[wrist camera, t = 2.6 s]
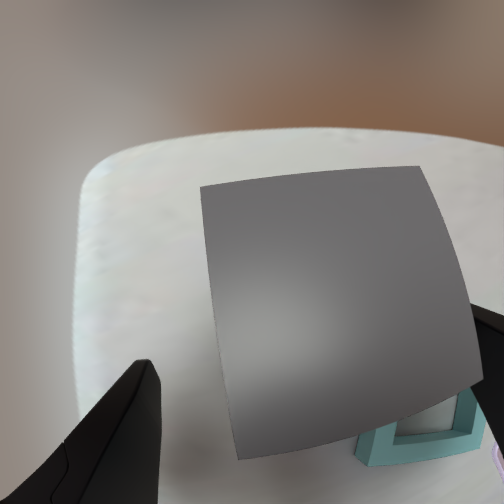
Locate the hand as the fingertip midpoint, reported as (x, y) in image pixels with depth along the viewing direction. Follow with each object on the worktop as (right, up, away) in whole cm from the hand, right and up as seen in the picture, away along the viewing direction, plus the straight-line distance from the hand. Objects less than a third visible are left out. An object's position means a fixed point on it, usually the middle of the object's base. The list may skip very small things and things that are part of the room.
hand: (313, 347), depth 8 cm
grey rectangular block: (0, -3, +8) cm, 9 cm away
